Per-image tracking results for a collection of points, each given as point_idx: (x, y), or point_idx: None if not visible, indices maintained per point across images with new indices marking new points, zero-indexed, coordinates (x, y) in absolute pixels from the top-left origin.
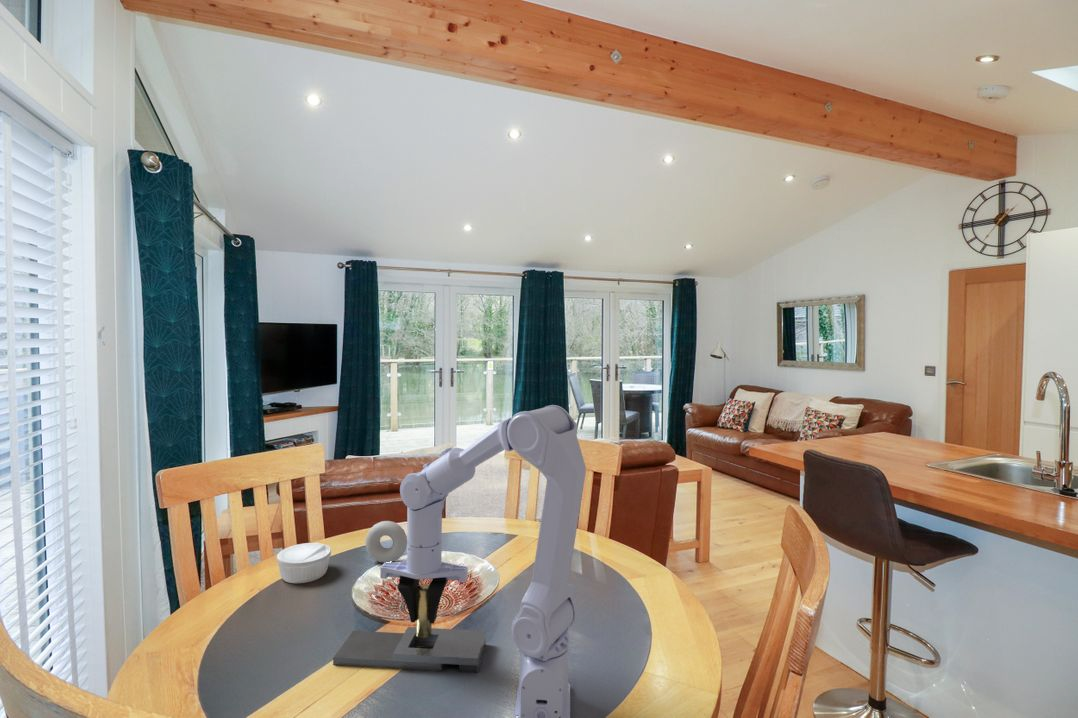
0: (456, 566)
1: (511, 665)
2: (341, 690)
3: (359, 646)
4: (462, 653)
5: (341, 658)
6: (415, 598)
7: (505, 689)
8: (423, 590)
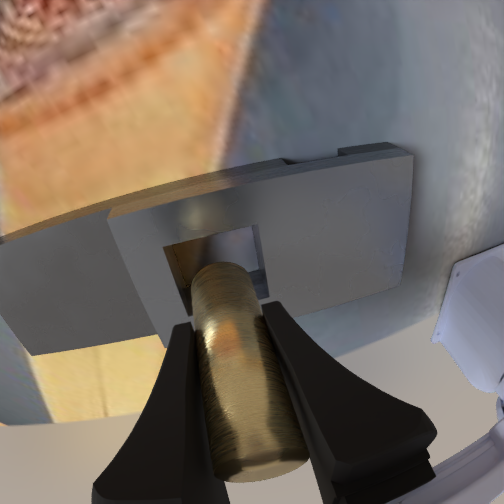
0: (502, 485)
1: (445, 214)
2: (118, 386)
3: (38, 311)
4: (362, 284)
5: (46, 353)
6: (202, 424)
7: (429, 283)
8: (271, 475)
